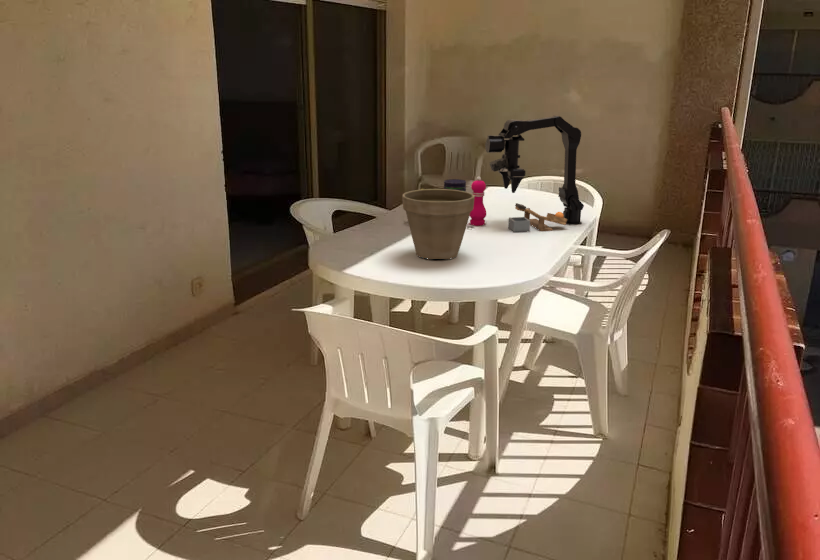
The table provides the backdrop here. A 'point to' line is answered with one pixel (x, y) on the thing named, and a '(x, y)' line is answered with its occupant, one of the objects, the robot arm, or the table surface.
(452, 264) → the table surface
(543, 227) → the frame
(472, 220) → the pepper mill
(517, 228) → the grey open box
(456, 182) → the storage jar
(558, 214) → the ball
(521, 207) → the catapult lever
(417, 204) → the plant pot
